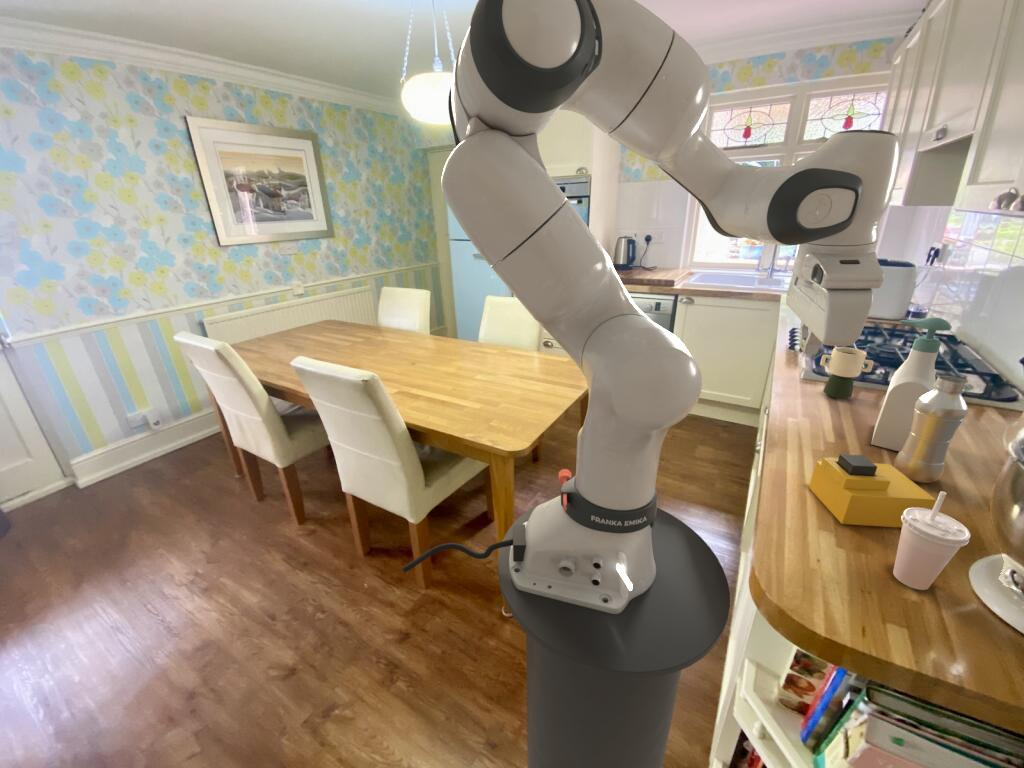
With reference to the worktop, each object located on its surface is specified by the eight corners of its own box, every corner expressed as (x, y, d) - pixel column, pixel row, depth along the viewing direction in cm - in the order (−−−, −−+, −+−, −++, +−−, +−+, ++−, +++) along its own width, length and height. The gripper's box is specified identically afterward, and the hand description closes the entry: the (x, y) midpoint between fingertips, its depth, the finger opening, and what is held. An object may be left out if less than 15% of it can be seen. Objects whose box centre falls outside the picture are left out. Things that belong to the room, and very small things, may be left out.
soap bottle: (865, 424, 98) (903, 309, 88) (911, 435, 93) (958, 314, 83) (860, 442, 91) (901, 319, 81) (910, 455, 86) (961, 325, 76)
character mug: (860, 395, 114) (874, 350, 109) (862, 405, 108) (878, 357, 103) (812, 388, 119) (824, 344, 114) (812, 396, 114) (824, 351, 109)
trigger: (849, 476, 68) (853, 465, 67) (836, 464, 71) (839, 453, 70) (873, 477, 67) (877, 466, 67) (859, 465, 71) (862, 454, 70)
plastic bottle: (942, 491, 75) (987, 389, 67) (893, 480, 78) (931, 381, 71) (932, 473, 80) (974, 376, 72) (887, 464, 83) (922, 370, 76)
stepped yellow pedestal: (839, 524, 68) (853, 485, 65) (807, 487, 77) (817, 451, 74) (923, 529, 66) (940, 489, 63) (879, 490, 75) (893, 455, 73)
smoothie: (904, 557, 61) (939, 477, 56) (956, 593, 55) (1000, 507, 50) (868, 565, 60) (901, 484, 54) (917, 603, 54) (959, 515, 49)
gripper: (786, 248, 69) (769, 327, 75) (830, 279, 52) (803, 377, 58) (830, 247, 67) (809, 328, 74) (892, 278, 50) (857, 380, 56)
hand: (807, 350), depth 66 cm, fingers closed
